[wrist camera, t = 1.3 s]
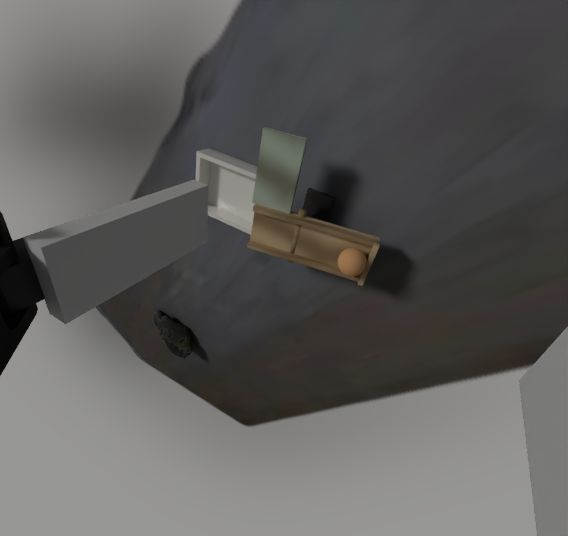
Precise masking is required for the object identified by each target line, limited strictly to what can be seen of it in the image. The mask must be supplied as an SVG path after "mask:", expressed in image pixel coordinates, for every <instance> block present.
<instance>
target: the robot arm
mask: <svg viewBox="0 0 568 536" xmlns="http://www.w3.org/2000/svg"><path fill="white" fill-rule="evenodd" d="M207 224H208V185H206V184H204V183H201V182H198V181H196V180H192V181H189V182H186V183H183V184H180V185H177V186H174V187H171V188H168V189H165V190H162V191H159V192H156V193H153V194H150V195H147V196H144V197H141V198H138V199H135V200H132V201H129V202H126V203H123V204H120V205H118V206H115V207H112V208H109V209H106V210H103V211H100V212H97V213H94V214H91V215H88V216H85V217H82V218H79V219H76V220H73V221H70V222H67V223H64V224H61V225H58V226H55V227H52V228H49V229H47V230H43V231H40V232H38V233H34V234H31V235H29V236H26V237H23V238H21V239H18V240H14V241H12V239H11V236H10V234H9V231H8V228H7V225H6V223H5V220H4V218H3V215H2V213H1V212H0V375H1V374H2V372H3V370H4V369H5V367H6V365H7V363H8V362H9V360H10V358H11V357H12V355H13V353H14V351H15V350H16V348H17V346H18V345H19V343H20V341H21V339H22V338H23V336H24V334H25V332H26V331H27V329H28V327H29V326H30V324H31V322H32V321H33V319H34V317H35V315H36V314H37V310H38V308H37V305H36V303H37V302H39V301H41V300H43V299H45V301H46V304H47V307H48V310H49V313H50V314H51V315H53V316H54V317H56V318H57V319H59V320H60V321H62V322H63V323H65V324H66V323H68V322H70V321H72V320H73V319H75V318H77V317H79V316H80V315H82V314H84V313H86V312H87V311H89V310H91V309H92V308H94V307H96V306H98V305H99V304H101V303H103V302H105V301H106V300H108V299H110V298H112V297H113V296H115V295H117V294H118V293H120V292H122V291H124V290H125V289H127V288H129V287H131V286H132V285H134V284H136V283H137V282H139V281H141V280H143V279H144V278H146V277H148V276H150V275H151V274H153V273H155V272H156V271H158V270H160V269H162V268H163V267H165V266H167V265H169V264H170V263H172V262H174V261H175V260H177V259H179V258H181V257H182V256H184V255H186V254H188V253H189V252H191V251H193V250H194V249H196V248H198V247H200V246H201V245H203V244H205V243H207ZM519 385H520V393H521V401H522V410H523V418H524V427H525V436H526V444H527V453H528V461H529V469H530V478H531V485H532V486H531V487H532V495H533V504H534V512H535V520H536V529H537V536H568V327H567V328H566V329H565V330H564V331H563V332H562V334H561V335H560V336H559V337H558V338H557V339H556V340H555V341H554V342H553V344H552V345H551V346H550V347H549V348H548V349H547V350H546V351H545V352H544V354H543V355H542V356H541V357H540V358H539V359H538V360H537V361H536V362H535V364H534V365H533V366H532V367H531V368H530V369H529V370H528V371H527V372H526V374H525V375H524V376H523V377H522V378H521V379H520V380H519Z"/></svg>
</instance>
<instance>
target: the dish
mask: <svg viewBox="0 0 568 536" xmlns="http://www.w3.org/2000/svg"><path fill="white" fill-rule="evenodd" d="M256 173H257V166H255V165H252V164H250V163H247V162H245V161H242V160H239V159H237V158H234V157H231V156H229V155H226V154H224V153H221V152H218V151H216V150H213V149H211V148H209V149H204V150H200V151H197V158H196V181H198V182H201V183H204V184H206V185H208V215H209V216H211V217H213V218H215V219H217V220H220V221H222V222H224V223H226V224H228V225H230V226H233V227H235V228H237V229H239V230H241V231H244V232H246V233H248V234H250V235H251V231H252V224H253V218H254V211H253V206H254V205H255V203H252V200H253V193H254V186H255V180H256Z"/></svg>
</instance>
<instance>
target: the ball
mask: <svg viewBox="0 0 568 536" xmlns="http://www.w3.org/2000/svg"><path fill="white" fill-rule="evenodd" d="M366 264H367V260H366V257H365V255H364V253H363V252H362V251H360V250H359V249H356V248H348V249H345V250H344V251H342V252H341V254H340V255H339V257H338V267H339V269H340V271H341V272H342V273H343V274H345V275H347V276H357V275H359V274H361V273H362V272H363V271H364V269H365V268H366Z"/></svg>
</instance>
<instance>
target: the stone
mask: <svg viewBox="0 0 568 536" xmlns="http://www.w3.org/2000/svg"><path fill="white" fill-rule="evenodd" d="M153 314H154V321H155V324H156V326H158V329H159V331H160V335H161V336H162V338H163V340H165V343H166V344H167V347H168V348H169V349H170V351H171V352H172V353H173V354H175V355H177V356H179V357H182V358H186V357H187V356H188V355H190V354H191V352H192V351H193V350H192V347H191V344H190V338H191V333H190V331H189V329H188V328H186V327H185V326H183V325H181V324H179V323H177V322H175V321H174V320H173V319H171V318H170V317H169V316H165V315H164V314H163V313H162V312H161V311H159V310H156V311H154V313H153Z"/></svg>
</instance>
